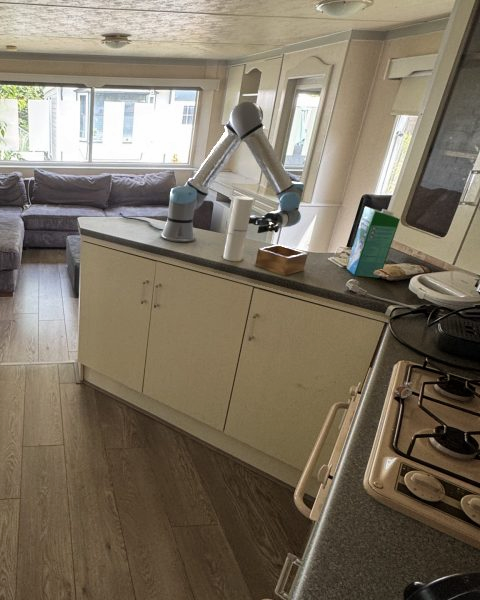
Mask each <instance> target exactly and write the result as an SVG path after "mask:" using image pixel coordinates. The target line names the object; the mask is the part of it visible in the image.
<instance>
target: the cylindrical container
mask: <svg viewBox="0 0 480 600" xmlns="http://www.w3.org/2000/svg"><path fill="white" fill-rule="evenodd" d="M253 204H254V198H253V197H252V196H251V197H250V196H242V195H236V196H234V198H233V203H232V209H231V213H230V219H229V223H230V224H228V230H227V235H226V240H225V245H224V252H223V256H222V257H223V258H222V259H224V260H227V261H230V262H240V261H242V258H243V254H244V248H245V243H246V239H247V233H248V229H249V228H248V227H249V219H250V216H251V214H252V208H253Z"/></svg>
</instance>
